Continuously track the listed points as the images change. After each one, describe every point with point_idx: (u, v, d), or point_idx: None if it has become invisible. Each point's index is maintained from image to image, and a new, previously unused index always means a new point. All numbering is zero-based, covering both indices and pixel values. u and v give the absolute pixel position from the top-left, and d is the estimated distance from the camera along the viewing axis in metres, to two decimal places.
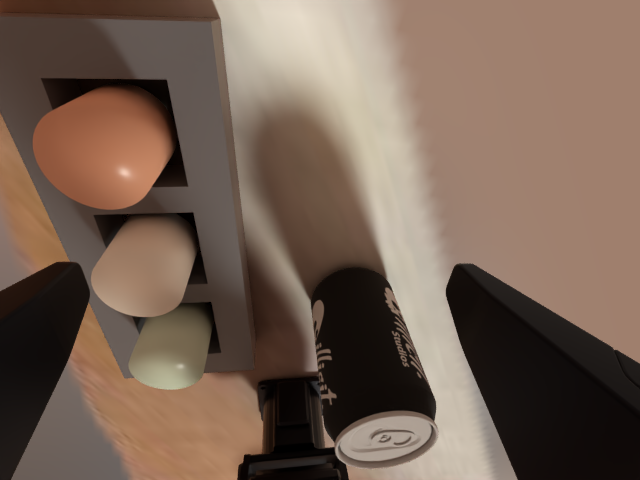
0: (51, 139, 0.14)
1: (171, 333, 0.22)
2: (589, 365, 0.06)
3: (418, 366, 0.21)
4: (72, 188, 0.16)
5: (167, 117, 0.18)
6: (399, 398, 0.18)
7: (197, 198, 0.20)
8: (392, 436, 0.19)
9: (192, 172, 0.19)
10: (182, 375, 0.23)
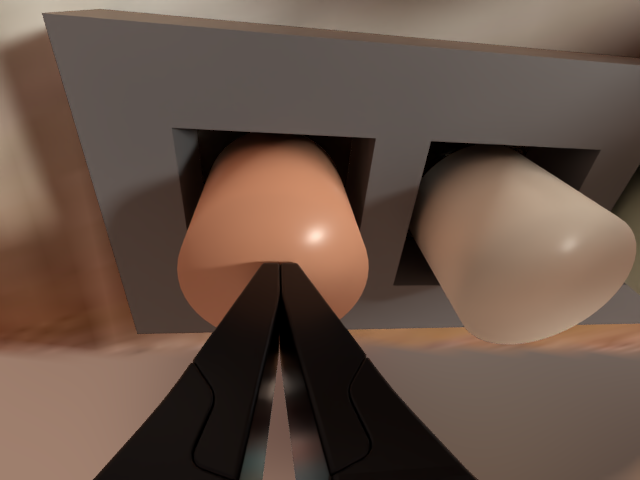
0: None
1: None
2: (317, 375, 0.05)
3: None
4: None
5: (250, 138, 0.11)
6: None
7: (404, 126, 0.10)
8: None
9: (348, 123, 0.10)
10: None
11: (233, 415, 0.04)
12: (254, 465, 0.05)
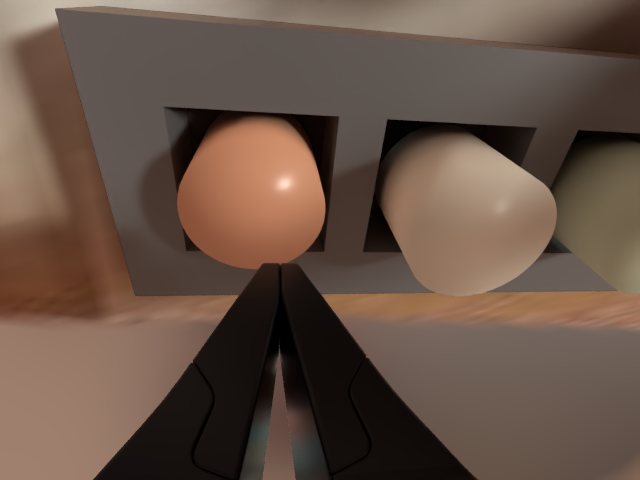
0: (224, 247, 0.12)
1: (604, 215, 0.12)
2: (317, 375, 0.05)
3: None
4: (289, 246, 0.12)
5: None
6: None
7: (363, 105, 0.11)
8: None
9: (314, 103, 0.11)
10: None
11: (233, 415, 0.04)
12: (254, 465, 0.05)
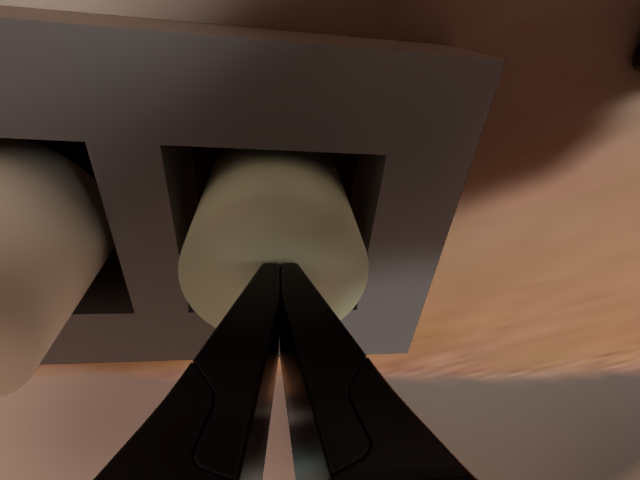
0: None
1: None
2: (317, 375, 0.05)
3: None
4: None
5: None
6: None
7: None
8: None
9: None
10: (312, 253, 0.08)
11: (233, 415, 0.04)
12: (254, 465, 0.05)
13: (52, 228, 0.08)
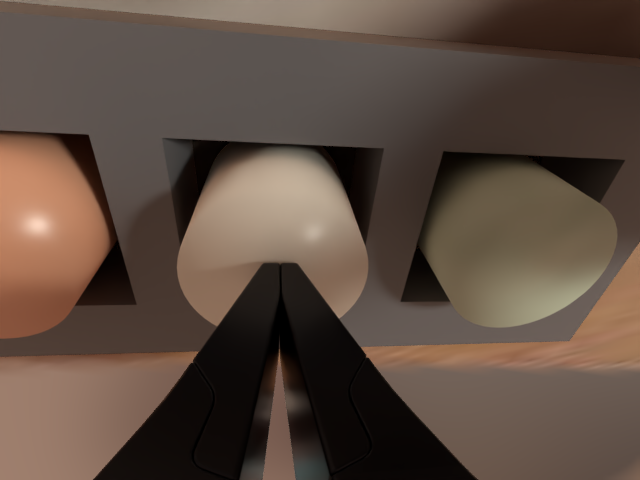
0: None
1: (446, 235, 0.10)
2: (317, 375, 0.05)
3: None
4: (40, 311, 0.09)
5: None
6: None
7: (118, 119, 0.08)
8: None
9: (44, 116, 0.08)
10: (572, 246, 0.09)
11: (233, 415, 0.04)
12: (254, 465, 0.05)
13: (348, 201, 0.10)
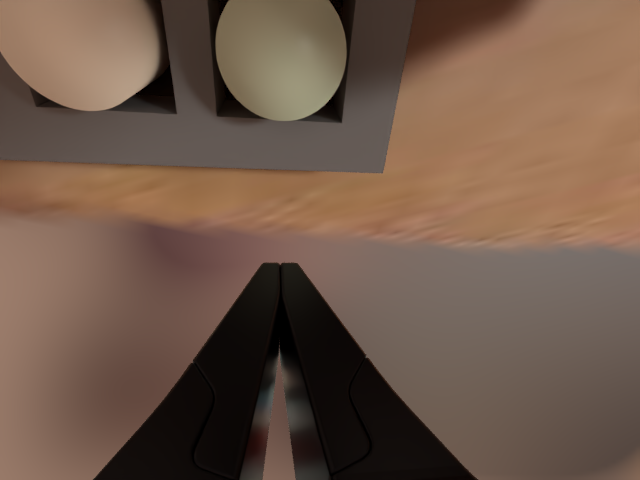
0: None
1: None
2: (317, 375, 0.05)
3: None
4: None
5: None
6: None
7: None
8: None
9: None
10: (307, 30, 0.12)
11: (233, 415, 0.04)
12: (254, 465, 0.05)
13: (146, 4, 0.13)
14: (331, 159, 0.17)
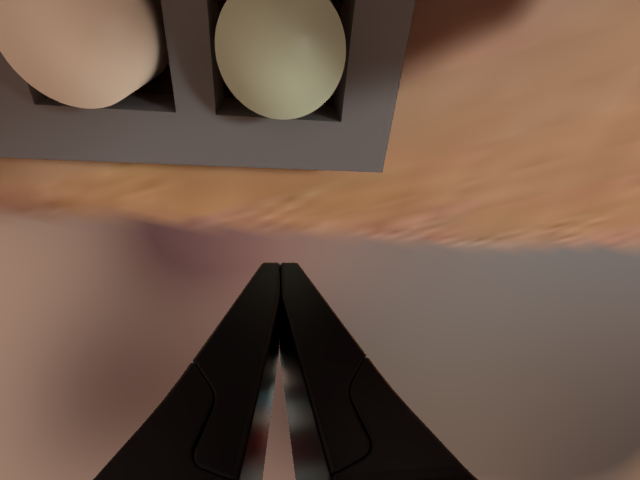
0: None
1: None
2: (317, 375, 0.05)
3: None
4: None
5: None
6: None
7: None
8: None
9: None
10: (306, 28, 0.12)
11: (233, 415, 0.04)
12: (254, 465, 0.05)
13: (145, 2, 0.13)
14: (330, 158, 0.17)
